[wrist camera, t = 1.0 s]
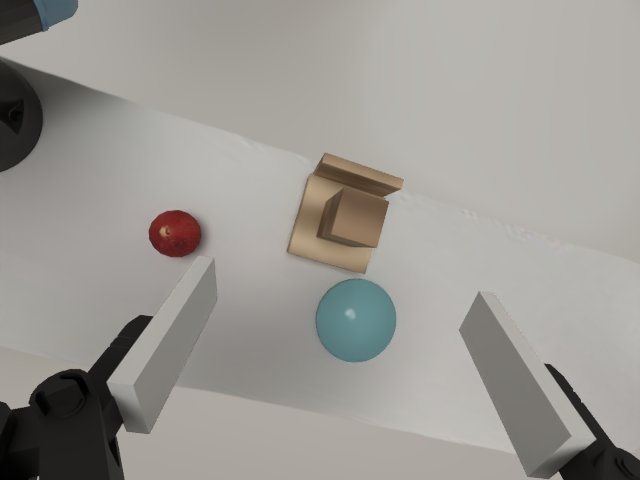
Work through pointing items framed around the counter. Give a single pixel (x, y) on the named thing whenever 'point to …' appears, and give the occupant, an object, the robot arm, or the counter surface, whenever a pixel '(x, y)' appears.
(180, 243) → the onion
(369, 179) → the ledge
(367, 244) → the block
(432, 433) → the counter surface
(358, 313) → the teal flattened ellipsoid
